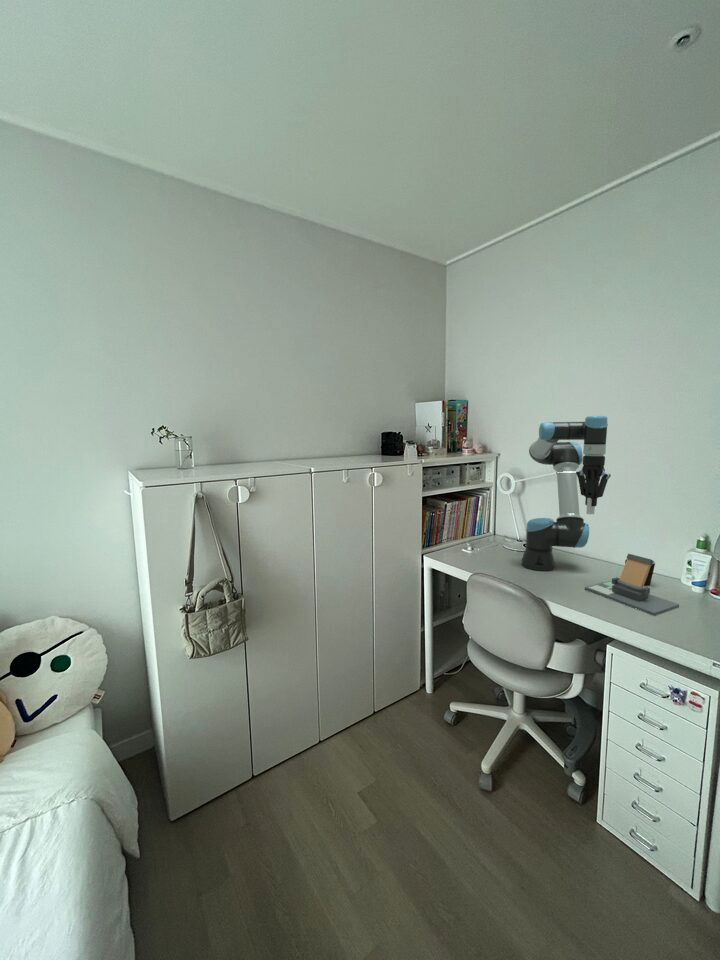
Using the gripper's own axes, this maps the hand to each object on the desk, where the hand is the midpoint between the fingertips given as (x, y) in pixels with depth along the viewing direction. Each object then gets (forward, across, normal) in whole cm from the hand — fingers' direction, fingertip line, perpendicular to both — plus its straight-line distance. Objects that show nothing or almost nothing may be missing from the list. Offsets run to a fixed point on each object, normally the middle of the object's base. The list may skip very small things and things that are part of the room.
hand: (590, 513), depth 156 cm
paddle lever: (+27, +12, +9) cm, 31 cm away
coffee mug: (+33, +4, +30) cm, 44 cm away
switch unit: (+32, +12, +9) cm, 36 cm away
